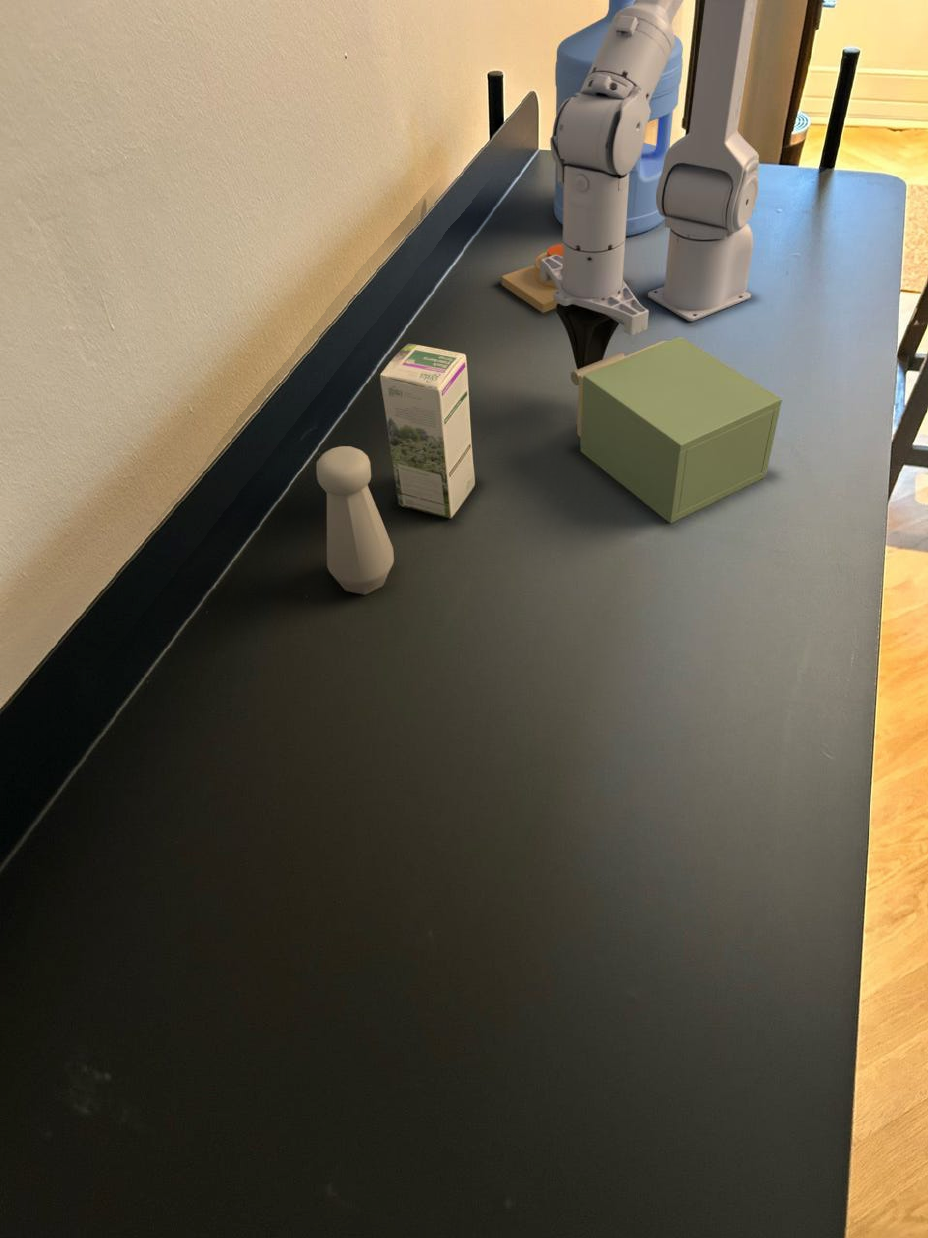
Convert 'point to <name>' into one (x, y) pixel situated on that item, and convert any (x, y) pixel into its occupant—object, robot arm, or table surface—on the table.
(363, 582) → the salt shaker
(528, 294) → the block
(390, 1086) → the table surface
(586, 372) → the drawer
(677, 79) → the water jug
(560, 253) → the button
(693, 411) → the sage green panel box
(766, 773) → the table surface
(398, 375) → the syrup box
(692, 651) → the table surface
